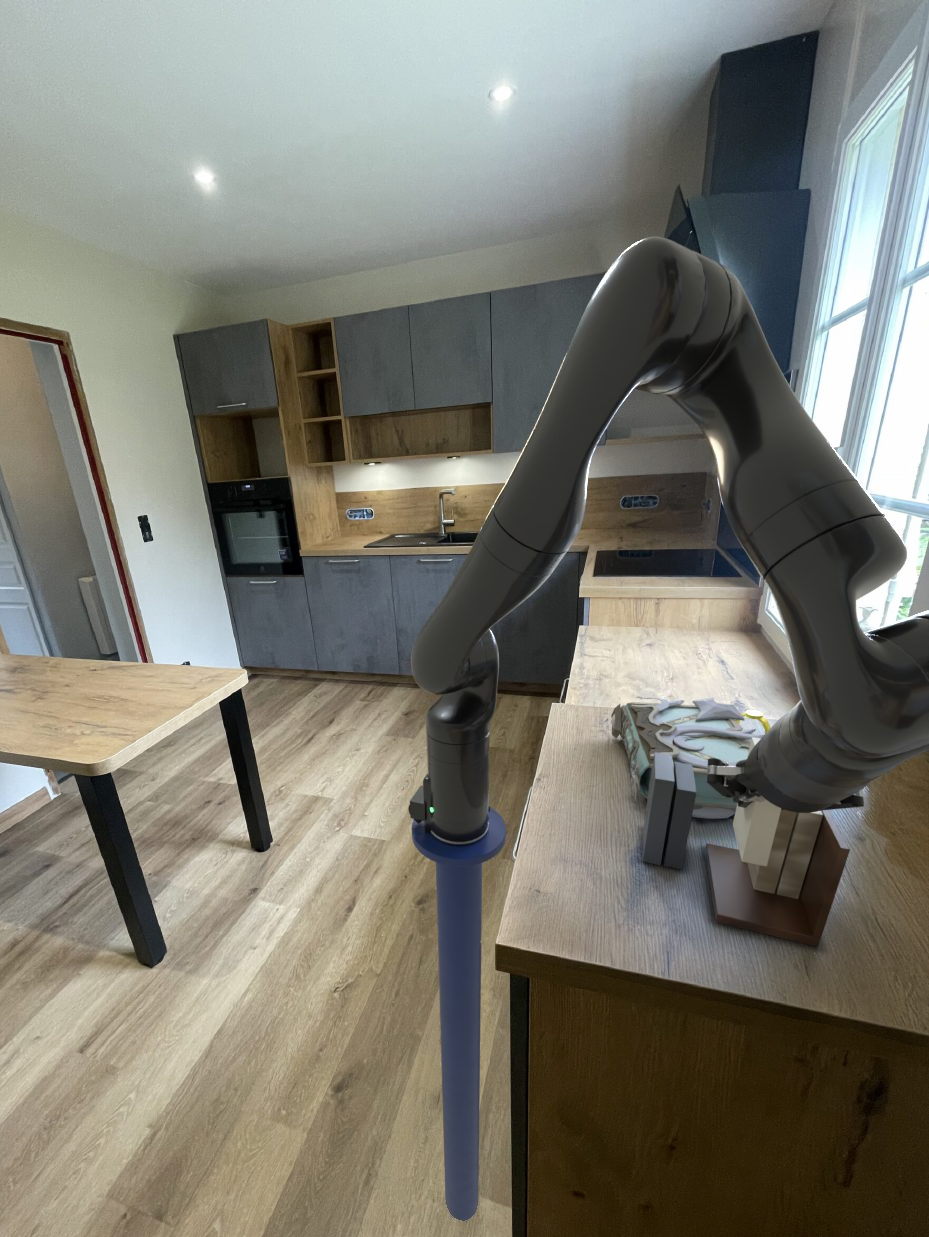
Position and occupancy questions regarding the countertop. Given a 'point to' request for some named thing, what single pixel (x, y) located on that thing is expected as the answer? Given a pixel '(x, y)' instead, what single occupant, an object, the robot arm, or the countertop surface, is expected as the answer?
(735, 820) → the ivory book
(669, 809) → the grey books
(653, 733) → the ornate book
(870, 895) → the countertop surface
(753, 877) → the book stand
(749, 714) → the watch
